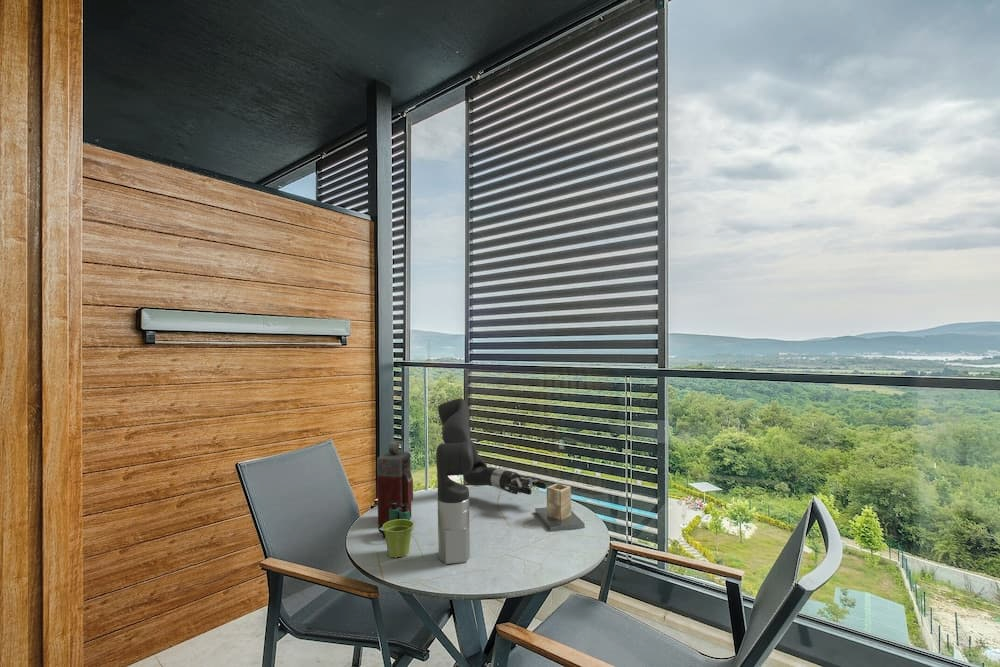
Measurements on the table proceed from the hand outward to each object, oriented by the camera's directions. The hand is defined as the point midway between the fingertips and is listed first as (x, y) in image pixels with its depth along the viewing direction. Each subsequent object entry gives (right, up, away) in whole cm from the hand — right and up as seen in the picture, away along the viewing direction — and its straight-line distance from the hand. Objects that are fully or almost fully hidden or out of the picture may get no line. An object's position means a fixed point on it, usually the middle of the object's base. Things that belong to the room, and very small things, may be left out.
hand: (538, 488), depth 181 cm
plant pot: (-44, -10, -31) cm, 55 cm away
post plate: (+7, -9, -6) cm, 13 cm away
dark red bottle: (-50, -10, -5) cm, 51 cm away
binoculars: (-48, -10, -19) cm, 52 cm away
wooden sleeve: (+7, -7, -6) cm, 12 cm away
